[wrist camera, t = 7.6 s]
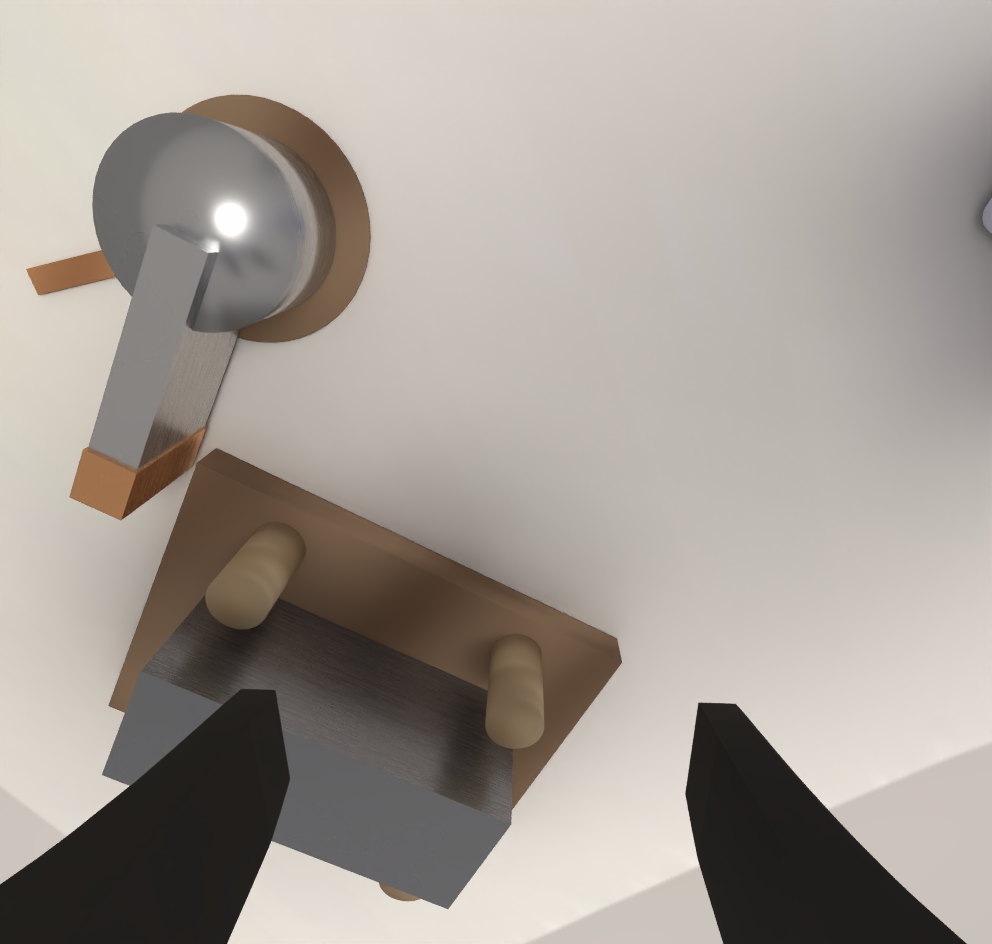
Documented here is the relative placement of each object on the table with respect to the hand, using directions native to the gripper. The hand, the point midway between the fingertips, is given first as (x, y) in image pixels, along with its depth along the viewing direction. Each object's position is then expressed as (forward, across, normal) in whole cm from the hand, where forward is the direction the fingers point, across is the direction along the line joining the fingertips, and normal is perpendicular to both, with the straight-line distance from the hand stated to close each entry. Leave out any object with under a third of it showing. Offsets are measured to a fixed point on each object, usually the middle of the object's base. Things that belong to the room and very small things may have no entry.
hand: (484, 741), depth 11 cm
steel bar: (+8, +5, +6) cm, 11 cm away
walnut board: (+9, +5, +6) cm, 12 cm away
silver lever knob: (+9, +8, -6) cm, 13 cm away
